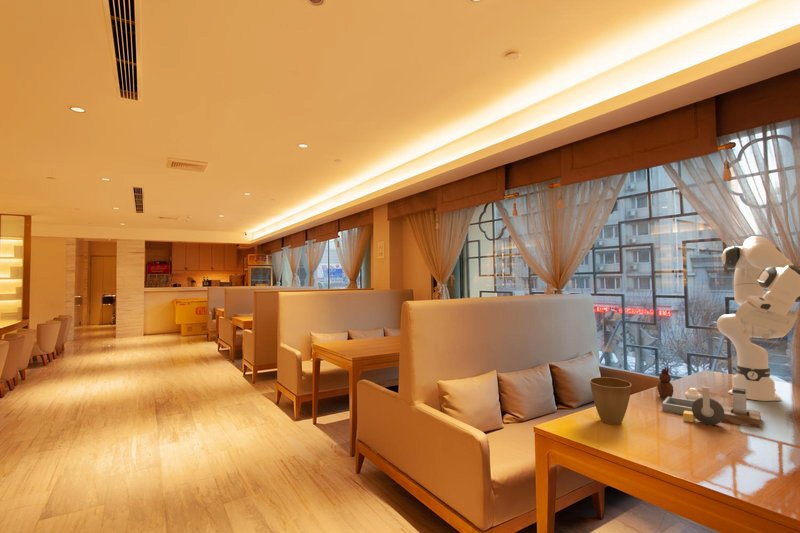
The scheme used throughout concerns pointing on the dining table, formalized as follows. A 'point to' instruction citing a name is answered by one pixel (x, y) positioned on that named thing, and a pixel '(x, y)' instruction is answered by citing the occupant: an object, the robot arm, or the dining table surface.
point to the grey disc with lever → (705, 410)
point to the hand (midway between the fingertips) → (753, 334)
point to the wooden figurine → (665, 384)
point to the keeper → (742, 417)
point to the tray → (677, 405)
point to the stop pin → (739, 401)
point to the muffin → (692, 394)
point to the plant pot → (610, 398)
